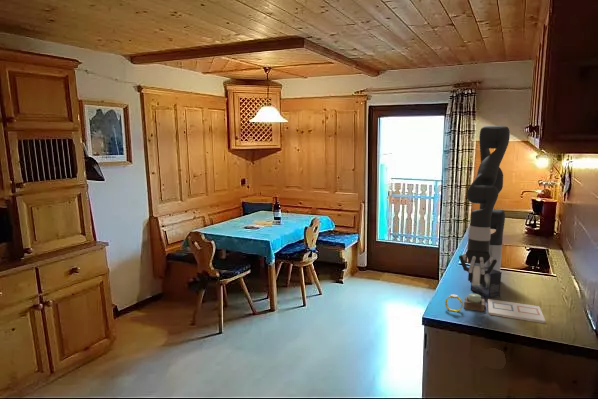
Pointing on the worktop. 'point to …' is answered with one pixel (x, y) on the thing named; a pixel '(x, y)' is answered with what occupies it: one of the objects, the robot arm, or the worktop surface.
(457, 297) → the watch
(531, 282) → the worktop surface
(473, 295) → the button
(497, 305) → the colouring board
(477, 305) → the button housing
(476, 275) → the marker
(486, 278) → the small box
